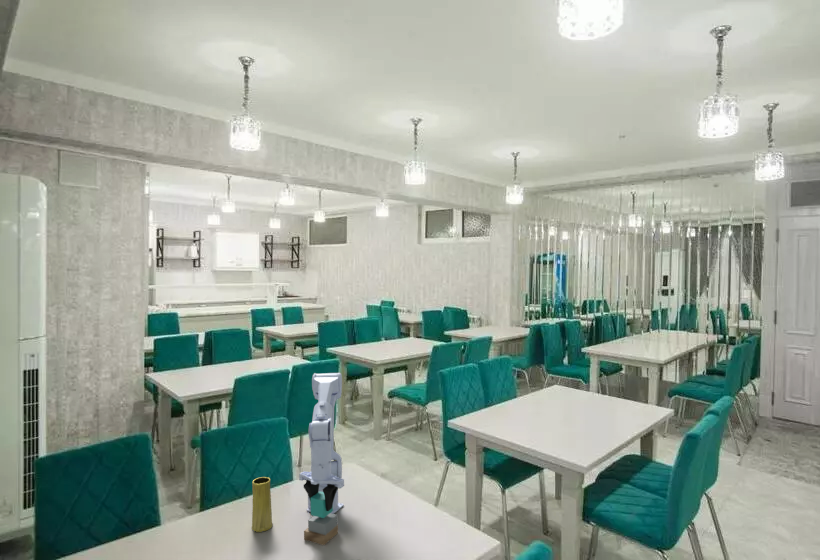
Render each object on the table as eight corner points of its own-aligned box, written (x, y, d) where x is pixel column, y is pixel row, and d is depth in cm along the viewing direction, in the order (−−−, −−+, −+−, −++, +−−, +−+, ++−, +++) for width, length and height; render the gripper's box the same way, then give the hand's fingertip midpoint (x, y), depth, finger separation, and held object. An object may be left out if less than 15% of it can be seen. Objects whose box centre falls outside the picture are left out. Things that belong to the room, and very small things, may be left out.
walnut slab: (304, 541, 135) (304, 530, 135) (318, 529, 141) (318, 519, 141) (324, 546, 132) (323, 536, 132) (338, 534, 138) (337, 524, 138)
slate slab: (308, 530, 135) (308, 520, 135) (320, 520, 140) (320, 510, 140) (325, 535, 132) (325, 524, 132) (337, 524, 138) (337, 514, 138)
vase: (247, 527, 142) (247, 480, 142) (266, 519, 146) (265, 474, 146) (258, 534, 138) (257, 486, 138) (276, 526, 142) (275, 480, 142)
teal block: (310, 514, 135) (310, 497, 135) (320, 507, 139) (319, 491, 139) (323, 518, 133) (323, 500, 133) (332, 510, 137) (332, 494, 137)
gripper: (292, 462, 136) (293, 509, 136) (334, 470, 130) (334, 519, 130) (307, 454, 142) (308, 498, 142) (347, 461, 136) (348, 507, 136)
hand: (321, 507), depth 136 cm, fingers closed on teal block, 4 cm apart
